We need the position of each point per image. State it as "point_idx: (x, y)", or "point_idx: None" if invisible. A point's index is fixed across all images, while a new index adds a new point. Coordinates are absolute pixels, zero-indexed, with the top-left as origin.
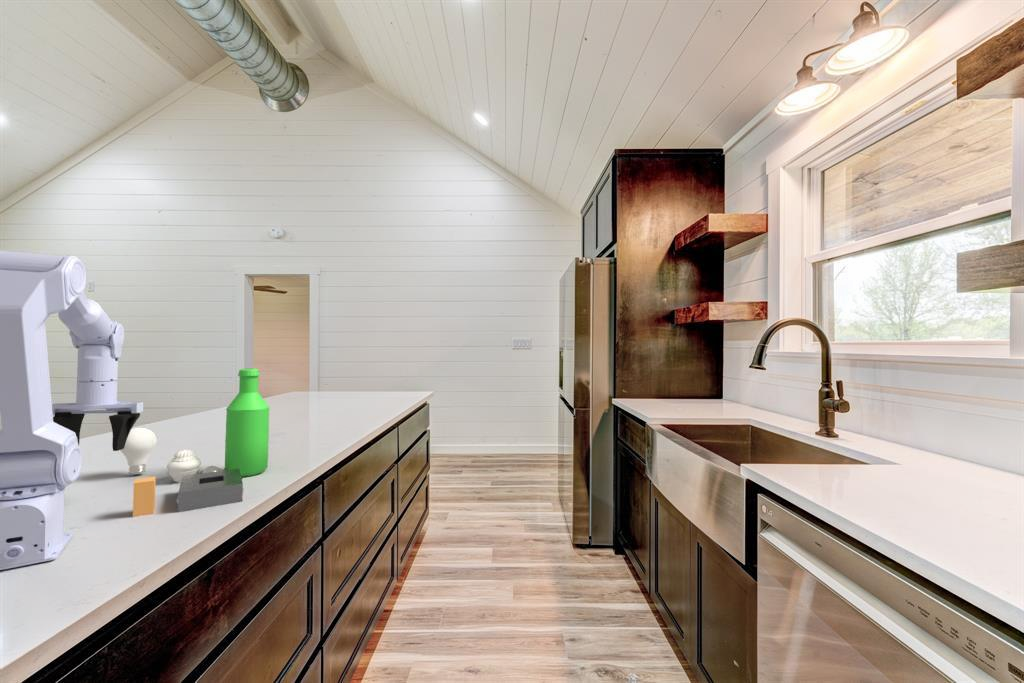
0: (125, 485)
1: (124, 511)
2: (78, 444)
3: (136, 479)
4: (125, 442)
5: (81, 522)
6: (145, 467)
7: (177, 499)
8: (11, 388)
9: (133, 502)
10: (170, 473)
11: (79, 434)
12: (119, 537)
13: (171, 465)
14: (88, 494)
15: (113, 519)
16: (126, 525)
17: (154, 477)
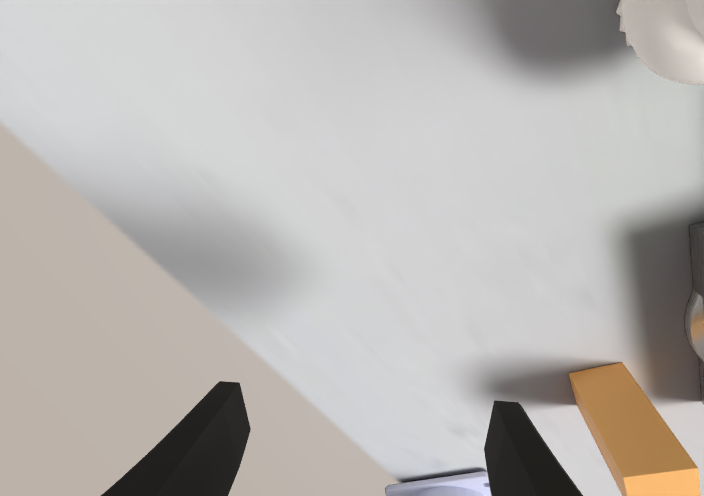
0: (379, 53)
1: (535, 363)
2: (222, 411)
3: (626, 481)
4: (541, 439)
5: (458, 408)
6: None
7: (696, 336)
8: None
9: (597, 444)
10: (637, 56)
11: (173, 473)
12: (591, 492)
13: (680, 68)
14: (304, 173)
15: (531, 408)
16: (582, 446)
17: (694, 475)
